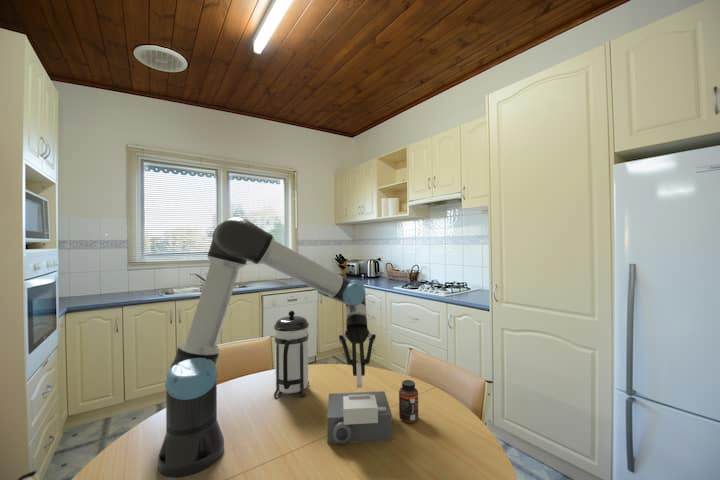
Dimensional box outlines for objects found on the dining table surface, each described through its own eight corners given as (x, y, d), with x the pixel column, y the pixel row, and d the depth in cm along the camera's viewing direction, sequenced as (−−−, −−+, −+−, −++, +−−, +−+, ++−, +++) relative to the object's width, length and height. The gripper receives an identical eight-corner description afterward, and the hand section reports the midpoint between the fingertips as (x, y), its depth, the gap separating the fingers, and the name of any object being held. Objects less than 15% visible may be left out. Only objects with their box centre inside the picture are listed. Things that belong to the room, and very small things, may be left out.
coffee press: (261, 391, 117) (261, 311, 117) (299, 378, 127) (298, 305, 128) (284, 409, 104) (283, 319, 104) (323, 393, 115) (323, 311, 115)
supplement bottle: (418, 425, 94) (418, 387, 94) (398, 423, 95) (398, 386, 95) (418, 414, 100) (417, 378, 100) (399, 413, 101) (399, 377, 101)
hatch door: (343, 424, 82) (343, 406, 82) (343, 410, 89) (343, 393, 89) (377, 422, 82) (377, 404, 82) (374, 408, 89) (374, 392, 89)
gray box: (327, 448, 83) (326, 420, 84) (329, 415, 100) (328, 391, 100) (393, 445, 85) (393, 417, 85) (384, 412, 101) (384, 389, 101)
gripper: (373, 323, 116) (379, 389, 99) (338, 324, 115) (338, 391, 99) (375, 312, 111) (381, 380, 94) (338, 313, 110) (338, 381, 93)
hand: (359, 385), depth 96 cm, fingers closed
